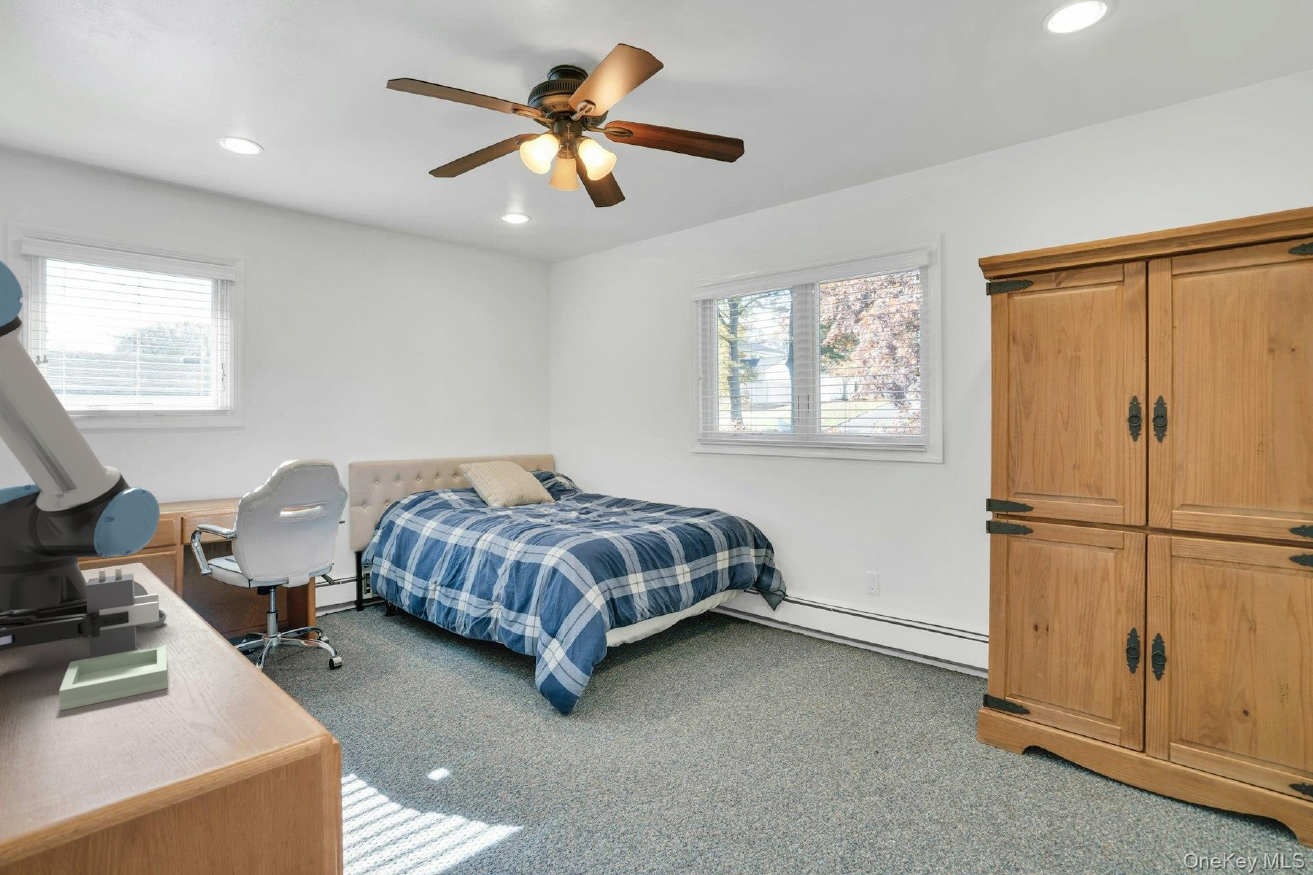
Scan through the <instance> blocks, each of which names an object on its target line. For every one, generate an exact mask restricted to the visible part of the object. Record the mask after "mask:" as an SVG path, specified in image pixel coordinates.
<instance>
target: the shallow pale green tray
mask: <svg viewBox="0 0 1313 875" xmlns="http://www.w3.org/2000/svg"><path fill="white" fill-rule="evenodd" d="M167 659H168V658H167V644H164V645H159V646H152V647H148V648H141V649H137V650H134V651H129V652H123V653H117V654H112V655H106V656H100V657H95V658H85V659H78V660H73V661H70V662H69V664H68V667H67V669H66V672H65V674H64V677H63V679H62V682H61V685H60V687H59V690H58V692H59V693H58V696H59V699H58V700H59V711H60V712H61V711H64V710H70V709H75V708H79V707H84V706H88V705H93V704H97V703H103V702H108V701H112V700H113V701H114V700H117V699H122V698H127V697H133V696H137V695H142V694H146V693H150V692H151V693H152V692H156V691H160V690H165V689H168V687H169V686H168V660H167Z"/></svg>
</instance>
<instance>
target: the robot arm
mask: <svg viewBox="0 0 1313 875" xmlns="http://www.w3.org/2000/svg"><path fill="white" fill-rule="evenodd" d="M21 286H22V285H21V284H20V280H18V278H17V276H16V274H15V273H14V272H13V271H12V270H11V268H10V267H9V266H8V265H7V264H6V263H5V262H4V261H2V260H1V259H0V438H1V440H2V441H3V442H4V443H5V445H6V447H7V448H8V449H9V450H10V452H11V453H12V455H13V456H14V457H15V459H16V460H17V461H18V462H19V464H20V465H21V466H22V468H23V469H24V471H25V472H26V474H27V475H28V476H29V477H30V479H31V480H32V482H33V483H29V484H23V485H22V484H21V485H13V486H7V487H2V488H1V487H0V652H1V651H7V650H11V649H16V648H23V647H28V646H34V645H35V646H36V645H40V644H48V643H53V642H60V641H67V640H73V639H79V638H88V636H90V635H92V638H95V637H98V636H99V628H100V630H106V629H112V628H118V627H125V626H131V625H137V624H143V623H150V622H156V621H159V609H160V607H159V606H160V605H159V604H160V602H159V593H152V594H148V595H144V596H136V597H135V605H129V606H122V607H115V608H108V609H102V610H99V616H98V613H95V612H92V613H87V601H85V600H86V599H87V595H86V584H87V582H88V581H86V579H85V577H84V574H83V572H82V571H81V568H80V566H79V565H80V564H79V558H80V557H81V558H82V557H84V558H85V557H87V558H107V559H108V558H115V557H123V556H124V557H125V556H129V555H133V554H135V553H138V551H141V550H142V549H143V548H145V547H146V546H147V545H148V544H149V542H150V541H151V540H152V539H153V537H154V536H155V533H156V531H157V530H158V524H159V521H160V515H161V511H160V510H161V509H160V506H159V505H160V504H159V502H158V500H157V498H156V496H155V495H154V494H153V493H152V492H150V491H149V490H147V489H145V488H141V487H139V486H135V487H130V485H129V484H128V482H127V481H126V480H125V478H124V476H123V475H122V473H121V472H120V470H119V469H118V468H116V467H113V466H108V465H107V466H106V465H103V464H102V463H101V461H100V459H98V457H97V455H96V453H95V452H94V451H93V449H92V448H91V446H90V444H89V443H88V442H87V440H86V439H85V437H84V436H83V434H82V433H81V431H80V430H79V428H78V427H77V425H76V423H75V422H74V421H73V419H72V418H71V416H70V415H69V413H68V411H67V410H66V408H65V407H64V405H63V404H62V403H61V401H60V399H59V398H58V397H57V395H56V393H55V392H54V391H53V389H52V388H51V386H50V385H49V383H48V381H47V380H46V379H45V377H44V376H43V373H41V371H40V369H39V368H38V366H37V364H35V361H34V360H33V359H32V357H31V356H30V354H29V353H28V351H27V349H26V348H25V347H24V345H23V344H22V343H21V341H20V340H19V335H20V333H21V331H22V328H23V326H24V323H23V321H22V320H21V319H20V317H19V314H20V313H21V310H22V307H23V302H21V299H22V298H23V297H24V296H23V295H24V294H23V290H22V287H21Z"/></svg>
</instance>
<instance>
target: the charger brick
mask: <svg viewBox="0 0 1313 875" xmlns="http://www.w3.org/2000/svg"><path fill="white" fill-rule="evenodd" d="M114 574H115V575H111V576H109V575H108V576H106V570H105V569H100V570H98V577H95V578H88V581H86V582H87V584H86V595H87V613H92V612H95V613H98V616H99V610H102V609H108V608H115V607H122V606H129V605H135V597H134V581H135V577H134V575H135V574H134V573H126V574H122V567H117V568H115V571H114ZM87 638H88V656H89V658H95V657H100V656H106V655H112V654H117V653H123V652H129V651H134V650H138V649H137V648H138V647H137V626H136V625H131V626H125V627H118V628H112V629H106V630H100V628H99V636H98V637H95V638H92V635H90V636H88V637H87ZM89 658H88V659H89Z"/></svg>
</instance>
